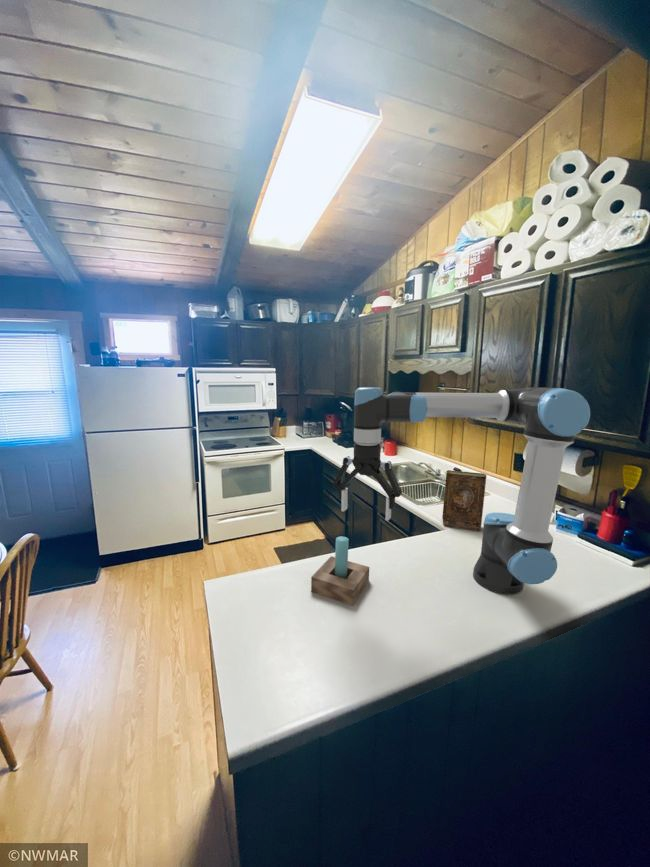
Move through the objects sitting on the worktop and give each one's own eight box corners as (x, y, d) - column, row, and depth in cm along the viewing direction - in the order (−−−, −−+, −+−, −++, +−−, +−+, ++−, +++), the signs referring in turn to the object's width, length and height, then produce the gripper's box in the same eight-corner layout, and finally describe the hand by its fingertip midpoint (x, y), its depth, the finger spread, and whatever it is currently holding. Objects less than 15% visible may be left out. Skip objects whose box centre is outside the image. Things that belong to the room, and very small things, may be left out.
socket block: (368, 580, 114) (369, 567, 113) (352, 605, 101) (353, 590, 100) (330, 569, 120) (331, 556, 119) (311, 591, 107) (311, 576, 107)
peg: (348, 584, 112) (350, 538, 109) (343, 591, 108) (345, 543, 105) (337, 580, 113) (339, 535, 111) (332, 587, 110) (333, 540, 107)
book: (479, 526, 157) (485, 473, 153) (481, 531, 152) (487, 477, 148) (442, 521, 162) (446, 470, 158) (442, 526, 157) (446, 473, 152)
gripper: (415, 444, 94) (411, 517, 98) (333, 436, 106) (333, 502, 109) (407, 449, 88) (404, 528, 91) (321, 441, 99) (321, 510, 103)
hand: (365, 514), depth 100 cm, fingers open, 13 cm apart
